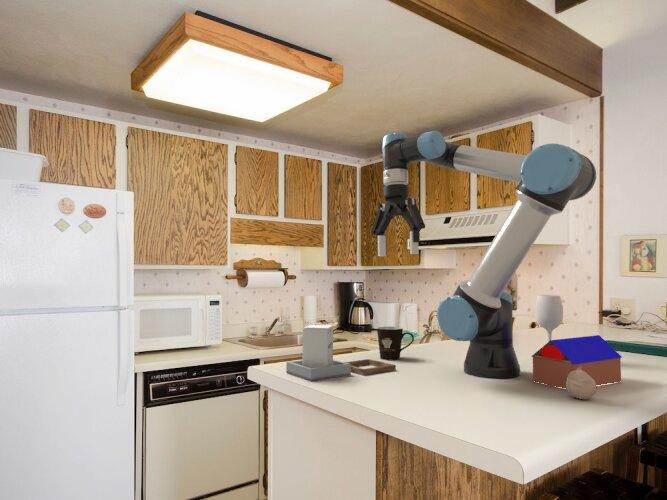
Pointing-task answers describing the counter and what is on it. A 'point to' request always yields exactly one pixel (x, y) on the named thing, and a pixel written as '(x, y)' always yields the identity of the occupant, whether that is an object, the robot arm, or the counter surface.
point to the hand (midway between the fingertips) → (397, 255)
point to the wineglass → (549, 312)
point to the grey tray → (318, 370)
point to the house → (576, 361)
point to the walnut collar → (378, 369)
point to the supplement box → (317, 346)
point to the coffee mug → (391, 342)
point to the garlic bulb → (580, 384)
